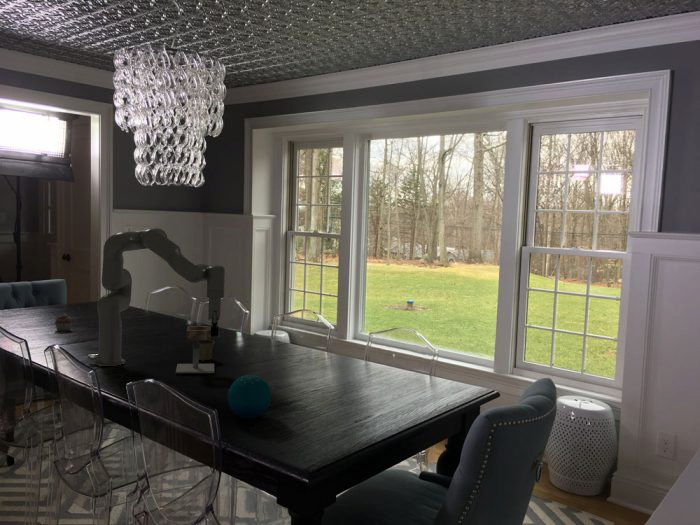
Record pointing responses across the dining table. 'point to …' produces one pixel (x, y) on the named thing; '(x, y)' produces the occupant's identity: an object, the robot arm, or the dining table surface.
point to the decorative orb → (249, 396)
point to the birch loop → (200, 333)
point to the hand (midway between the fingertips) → (214, 334)
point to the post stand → (195, 363)
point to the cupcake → (63, 323)
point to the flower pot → (205, 349)
